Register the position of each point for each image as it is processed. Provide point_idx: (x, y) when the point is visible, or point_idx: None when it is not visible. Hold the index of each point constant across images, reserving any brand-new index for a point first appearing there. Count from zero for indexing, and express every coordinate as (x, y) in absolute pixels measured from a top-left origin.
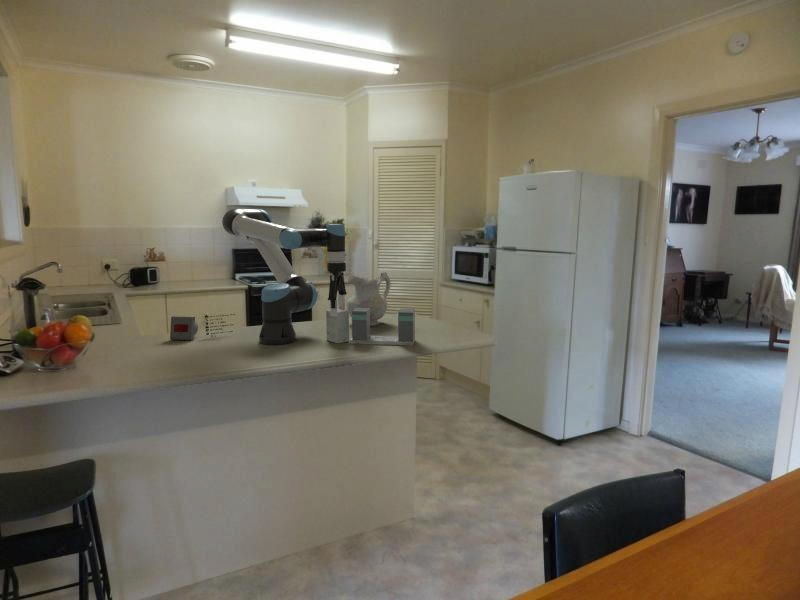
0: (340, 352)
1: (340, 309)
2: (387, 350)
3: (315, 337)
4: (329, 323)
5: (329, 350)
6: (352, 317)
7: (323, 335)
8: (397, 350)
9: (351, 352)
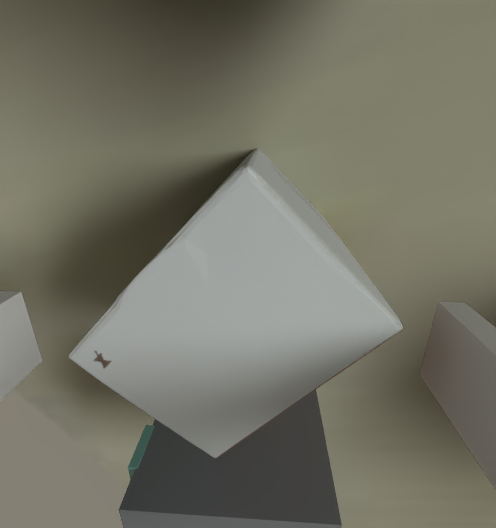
0: (18, 289)
1: (302, 370)
2: (118, 448)
3: (335, 26)
4: (205, 201)
5: (29, 228)
6: (138, 449)
7: (404, 78)
8: (129, 474)
9: (38, 334)
